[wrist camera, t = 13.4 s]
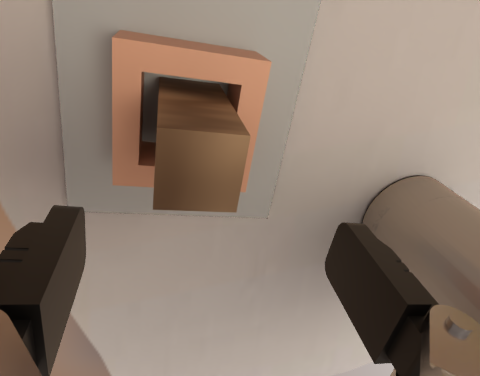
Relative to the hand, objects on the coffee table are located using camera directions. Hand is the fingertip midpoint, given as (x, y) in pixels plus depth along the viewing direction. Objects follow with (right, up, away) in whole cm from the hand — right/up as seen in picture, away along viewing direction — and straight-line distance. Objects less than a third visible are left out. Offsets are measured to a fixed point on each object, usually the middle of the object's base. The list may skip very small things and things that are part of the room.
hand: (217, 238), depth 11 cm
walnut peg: (-3, +7, +13) cm, 15 cm away
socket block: (-3, +8, +14) cm, 17 cm away
